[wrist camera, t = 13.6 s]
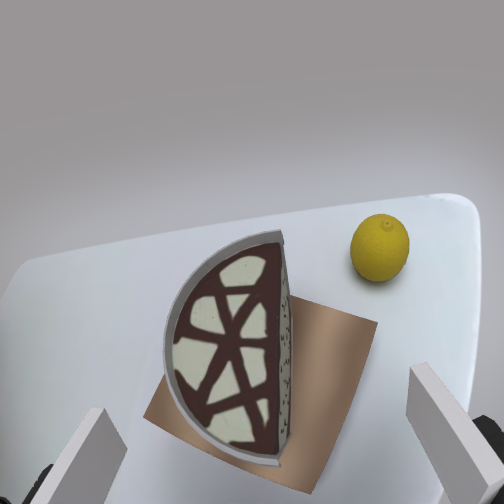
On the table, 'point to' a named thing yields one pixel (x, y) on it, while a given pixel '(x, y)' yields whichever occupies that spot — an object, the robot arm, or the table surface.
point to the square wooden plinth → (298, 394)
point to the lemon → (379, 247)
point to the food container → (235, 349)
